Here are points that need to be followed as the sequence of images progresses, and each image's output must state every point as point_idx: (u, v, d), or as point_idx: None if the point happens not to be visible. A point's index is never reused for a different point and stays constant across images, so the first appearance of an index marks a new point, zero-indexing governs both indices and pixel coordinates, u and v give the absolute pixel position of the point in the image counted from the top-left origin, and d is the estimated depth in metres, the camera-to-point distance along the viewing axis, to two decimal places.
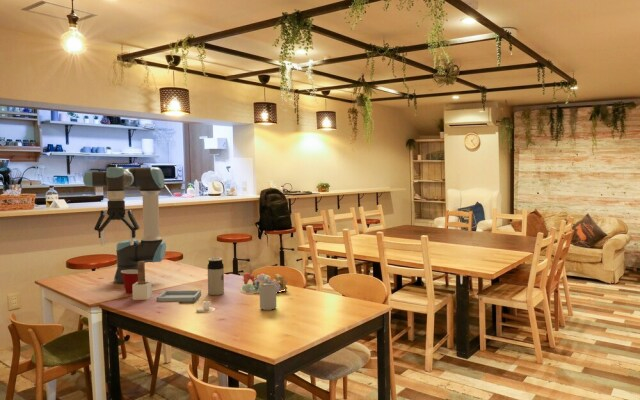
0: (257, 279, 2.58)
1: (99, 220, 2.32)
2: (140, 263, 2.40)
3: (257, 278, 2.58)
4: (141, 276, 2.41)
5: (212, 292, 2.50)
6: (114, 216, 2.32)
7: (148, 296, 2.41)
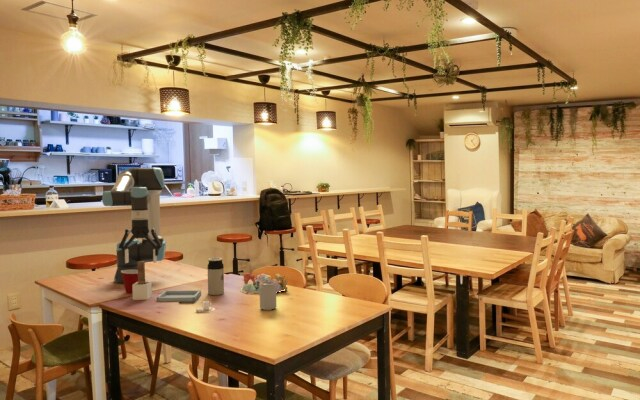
0: (257, 279, 2.58)
1: (123, 238, 2.39)
2: (140, 263, 2.40)
3: (257, 278, 2.58)
4: (141, 276, 2.41)
5: (212, 292, 2.50)
6: (138, 235, 2.40)
7: (148, 296, 2.41)
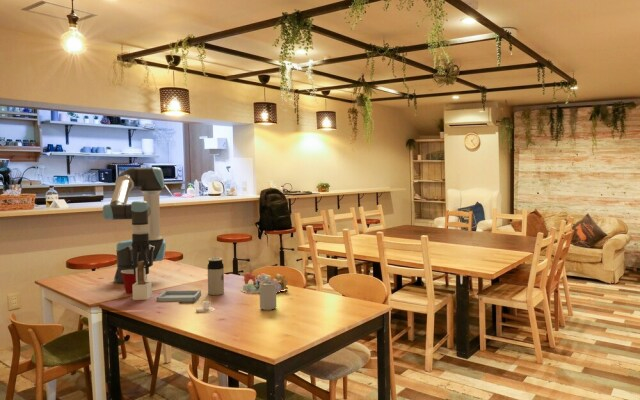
0: (258, 279, 2.58)
1: (129, 256, 2.40)
2: (140, 263, 2.40)
3: (258, 278, 2.58)
4: (141, 276, 2.41)
5: (212, 292, 2.50)
6: (138, 249, 2.40)
7: (148, 296, 2.41)
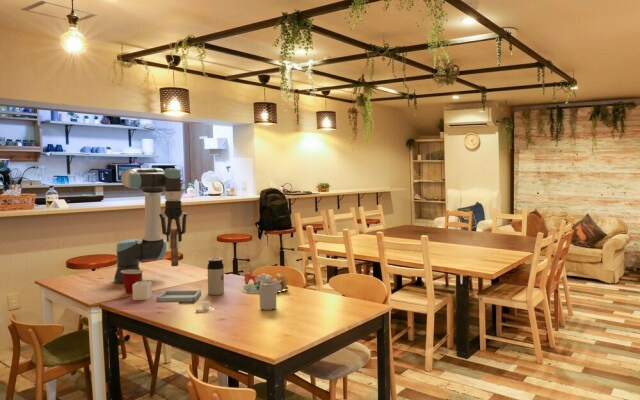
0: (258, 279, 2.58)
1: (162, 223, 2.40)
2: (173, 230, 2.40)
3: (258, 278, 2.59)
4: (174, 243, 2.40)
5: (212, 292, 2.50)
6: (171, 216, 2.40)
7: (148, 296, 2.41)
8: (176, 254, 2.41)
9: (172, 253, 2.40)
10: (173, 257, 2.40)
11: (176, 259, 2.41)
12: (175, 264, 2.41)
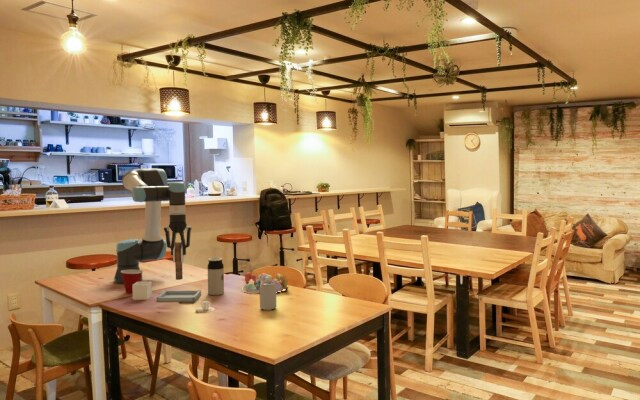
0: (258, 279, 2.59)
1: (167, 237, 2.40)
2: (177, 244, 2.40)
3: (258, 278, 2.59)
4: (179, 257, 2.41)
5: (212, 292, 2.50)
6: (176, 229, 2.40)
7: (148, 296, 2.41)
8: (180, 267, 2.42)
9: (176, 266, 2.41)
10: (177, 270, 2.41)
11: (180, 272, 2.42)
12: (179, 277, 2.41)
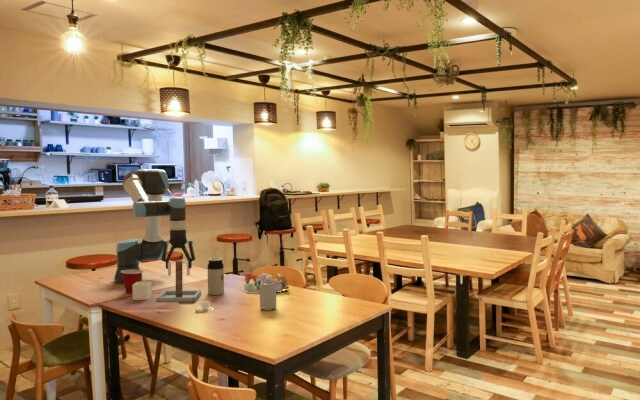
0: (259, 279, 2.59)
1: (164, 251, 2.41)
2: (178, 262, 2.41)
3: (259, 278, 2.59)
4: (179, 275, 2.41)
5: (212, 292, 2.50)
6: (176, 245, 2.41)
7: (148, 296, 2.41)
8: (181, 286, 2.42)
9: (177, 285, 2.42)
10: (178, 289, 2.42)
11: (180, 291, 2.42)
12: (179, 296, 2.42)
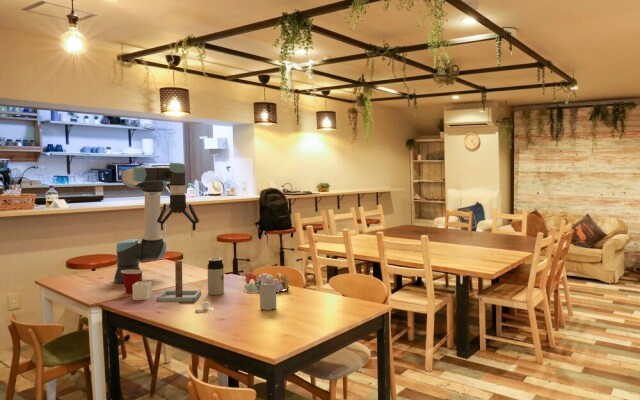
0: (259, 278, 2.59)
1: (162, 213, 2.43)
2: (178, 262, 2.41)
3: (259, 277, 2.59)
4: (179, 275, 2.41)
5: (212, 292, 2.50)
6: (176, 209, 2.43)
7: (148, 296, 2.41)
8: (180, 286, 2.42)
9: (176, 285, 2.42)
10: (177, 289, 2.42)
11: (180, 291, 2.42)
12: (179, 296, 2.42)
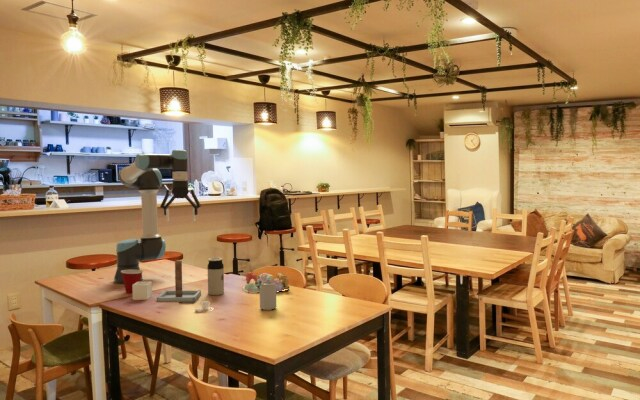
0: (259, 278, 2.59)
1: (165, 198, 2.53)
2: (177, 262, 2.41)
3: (259, 277, 2.60)
4: (179, 275, 2.42)
5: (212, 292, 2.50)
6: (178, 195, 2.53)
7: (148, 296, 2.41)
8: (180, 286, 2.42)
9: (176, 285, 2.42)
10: (177, 289, 2.42)
11: (180, 291, 2.42)
12: (179, 296, 2.42)
